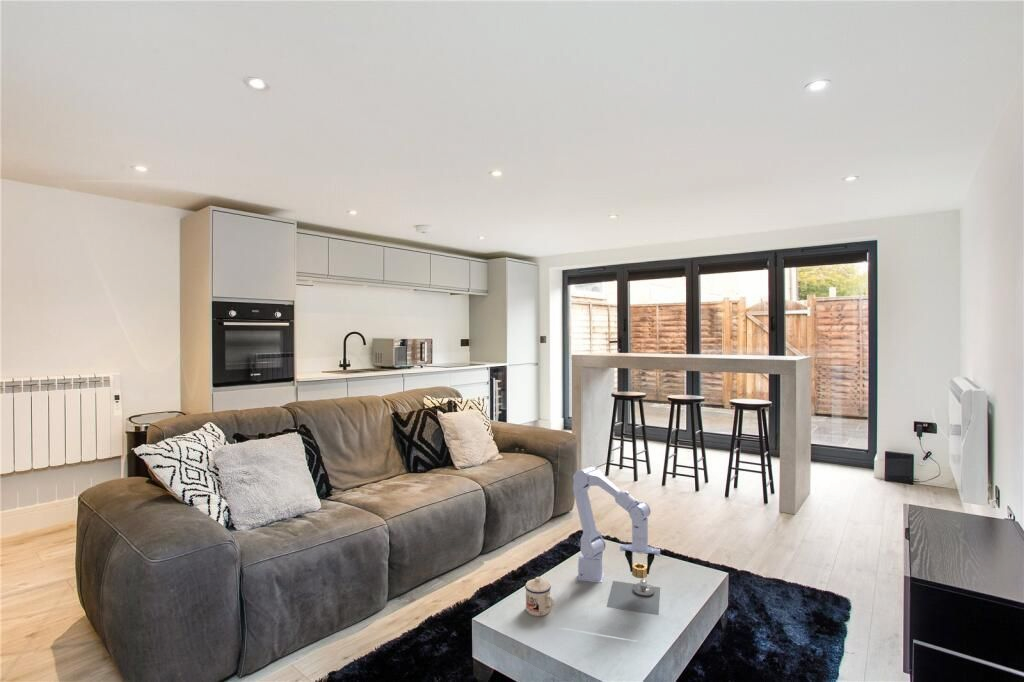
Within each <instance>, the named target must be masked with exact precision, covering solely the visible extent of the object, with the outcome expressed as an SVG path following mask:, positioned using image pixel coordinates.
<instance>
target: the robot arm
mask: <svg viewBox="0 0 1024 682" xmlns="http://www.w3.org/2000/svg"><path fill="white" fill-rule="evenodd" d="M572 478H573V484H572V486H573V487H572V489H573V496H574V499H575V503H576V508H577V513H578V516H579V520H580V521H579V522H580V525H581V530H582V535H581V537H580V539H579V541H580V554H579V556H578V560H577V562H578V563H577V564H578V566H577V568H578V569H577V572H578V574H577V576H578V577H577V580H579V581H586V582H592V583H598V584H599V583H600V584H602V583H603V582H604V581H603V580H604V576H605V573H604V572H603V554H604V551H605V550H606V548H607V547H606V541H605V539H604V538H603V536H602V533H601V532H600V531H599V530H598V529H597V526H596V521H595V518H594V514H593V509H592V506H591V501H590V496H589V494H588V491H589V490H590V487H593V486H595V487H596V486H597V487H600V488H601V489H602V490H603V491H605V492H607V493H608V494H609V495H611V496H612V497H613V498H614V502H615V503H616V504H617V505H619V506H620V507H621V508H622V509H623V510H625V511H626V512H627V513H628V514H629V515H628V516H629V518H630V519H631V544H620V545H619V552H624V556H625V559H626V560H627V563H628V566H629V570H630V572H631V573H632V565H633V564H634V563H633V562H634V561H633V557H634V555H633V554H634V553H636V554H638V555H644V554H645V555H647V556H646V560H647V563H646V566H647V575H650V569H651V567H652V564H653V562H654V560H655V556H656V557H661V549H660V548H656V547H652V546H648V545H649V543H648V542H649V533H648V532H649V531H648V530H649V520H648V519H649V518H648V517H650V515H651V511H652V510H651V508H650V506H649V505H648V504H647V502H645V501H640V500H639V499H636V498H635V497H634V496H632V495H631V493H630V492H629V490H626V489H622V490H620V489H619V488H618V486H617V485H615V484H614V483H613V482H611V481H610V480H609V479H608V478H607V477H606V476H605V475H604V473H603V472H602V470H600V469H599V468H598V467H597V466H595V465H590V466H587V467H585V468H582V469H578V470H576V471H575V472H574V475H573V476H572Z"/></svg>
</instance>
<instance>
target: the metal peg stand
mask: <svg viewBox="0 0 1024 682" xmlns="http://www.w3.org/2000/svg"><path fill="white" fill-rule="evenodd" d="M634 584H635V585H633V592H634V593H635V594H636V595H638V596H642V597H650V596H652V595H654V587H655V586H654V587H653V585H651V584H648V581H647V580H646V579H644V578H641V579H640V582H638V583H634Z"/></svg>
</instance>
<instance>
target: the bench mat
mask: <svg viewBox="0 0 1024 682" xmlns="http://www.w3.org/2000/svg"><path fill="white" fill-rule="evenodd" d="M635 584H636V583H632V582H625V581H618V580H612V583H611V588H610V591H609V596H608V599H607V603H606V608H610V609H615V610H616V609H617V610H623V611H629V612H637V613H643V614H649V615H655V616H659V615H660V613H659V612H660V599H661V587H660V586H653V585H652V586H653V587H654V595H652V596H650V597H642V596H638V595H636V594H635V593H634V592H633V585H635Z"/></svg>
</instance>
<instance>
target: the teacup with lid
mask: <svg viewBox="0 0 1024 682" xmlns="http://www.w3.org/2000/svg"><path fill="white" fill-rule="evenodd" d="M551 586H552V585H551V584H550V582H549V581H548V580H546V579H544V578H543V579H542V578H541V577H540V576H536V577H535V578H533V579H532V578H531V579H529V580H527V582H526V583H525V586H524V588H525V610H526V612H527V613H528V614H529V615H530V616H535V617H542V616H546V615H548V614H549V613H550V611H551V610H552V609H553V608H554V605H555V601H554V598H553V597H552V595H551V588H552V587H551Z"/></svg>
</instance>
